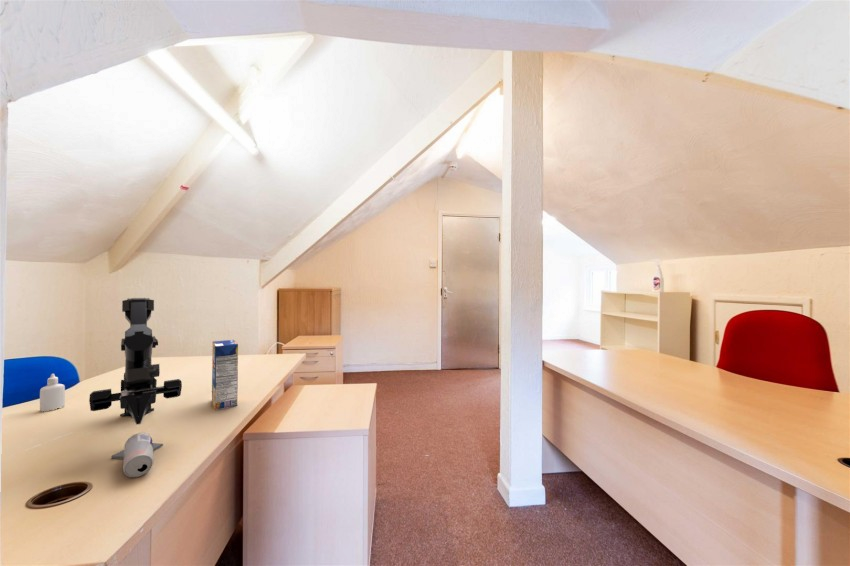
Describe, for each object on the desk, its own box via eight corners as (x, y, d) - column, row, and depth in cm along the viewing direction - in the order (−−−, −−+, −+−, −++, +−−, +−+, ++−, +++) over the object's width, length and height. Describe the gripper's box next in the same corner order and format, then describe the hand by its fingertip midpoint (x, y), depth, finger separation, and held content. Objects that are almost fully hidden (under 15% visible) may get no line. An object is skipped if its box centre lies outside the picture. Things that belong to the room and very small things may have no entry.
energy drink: (136, 457, 86) (136, 482, 77) (118, 445, 83) (116, 470, 74) (157, 440, 88) (159, 462, 79) (140, 427, 86) (141, 449, 77)
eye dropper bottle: (41, 409, 115) (42, 373, 115) (65, 405, 118) (66, 371, 118) (38, 413, 111) (38, 376, 111) (63, 409, 115) (63, 374, 115)
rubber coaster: (111, 458, 84) (111, 455, 84) (138, 444, 92) (138, 442, 92) (138, 459, 84) (138, 457, 84) (162, 445, 91) (162, 443, 91)
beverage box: (214, 410, 116) (215, 346, 116) (211, 400, 125) (212, 341, 125) (237, 405, 120) (238, 344, 120) (232, 397, 129) (233, 339, 129)
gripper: (90, 360, 85) (85, 418, 77) (181, 350, 97) (185, 400, 89) (93, 383, 91) (88, 439, 83) (178, 371, 103) (181, 419, 95)
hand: (138, 423), depth 87 cm, fingers closed
